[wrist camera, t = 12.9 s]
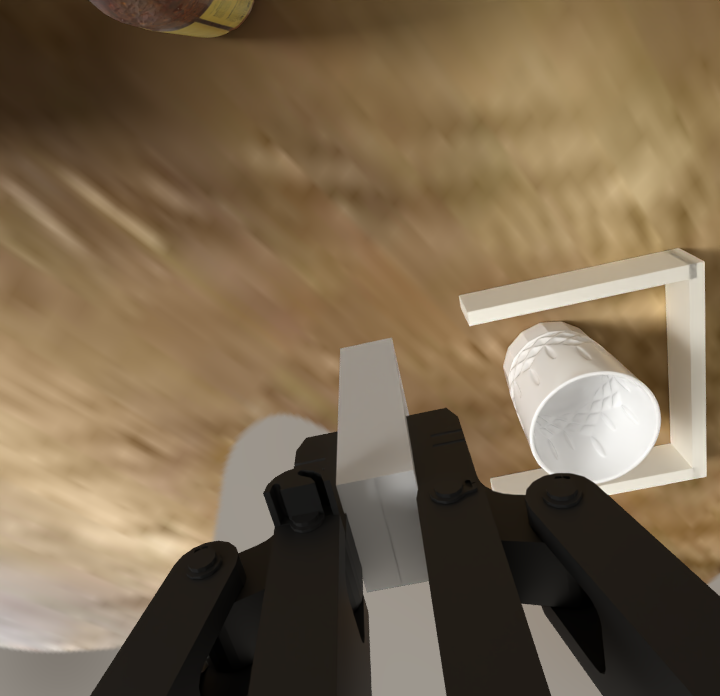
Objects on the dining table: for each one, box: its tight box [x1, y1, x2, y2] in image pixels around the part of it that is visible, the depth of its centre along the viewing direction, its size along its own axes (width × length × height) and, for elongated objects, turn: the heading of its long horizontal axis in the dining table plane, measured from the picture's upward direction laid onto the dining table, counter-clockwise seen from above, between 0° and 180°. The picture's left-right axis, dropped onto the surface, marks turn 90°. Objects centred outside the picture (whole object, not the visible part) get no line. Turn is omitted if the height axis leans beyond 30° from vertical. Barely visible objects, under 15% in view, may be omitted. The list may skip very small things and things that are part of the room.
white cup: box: [503, 321, 661, 484], centre depth 43 cm, size 8×8×10 cm
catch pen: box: [459, 248, 706, 495], centre depth 46 cm, size 16×17×4 cm
